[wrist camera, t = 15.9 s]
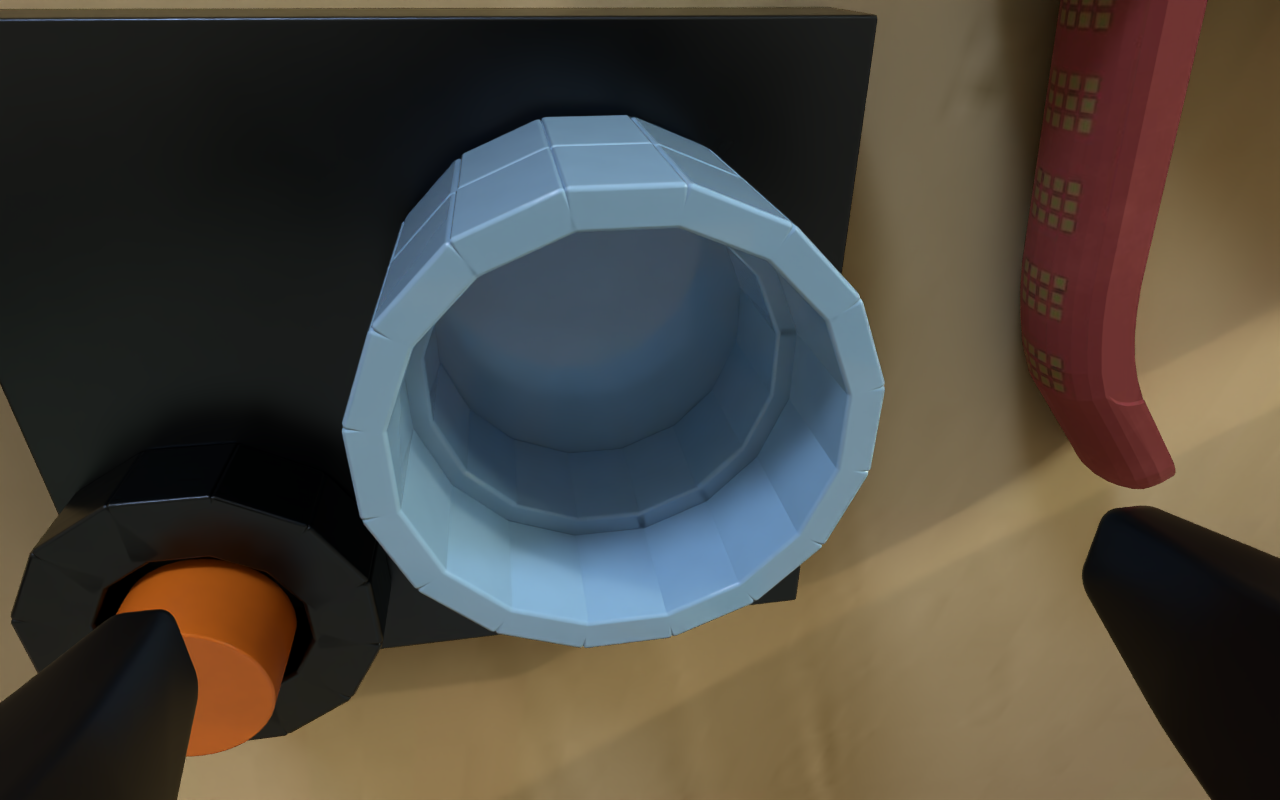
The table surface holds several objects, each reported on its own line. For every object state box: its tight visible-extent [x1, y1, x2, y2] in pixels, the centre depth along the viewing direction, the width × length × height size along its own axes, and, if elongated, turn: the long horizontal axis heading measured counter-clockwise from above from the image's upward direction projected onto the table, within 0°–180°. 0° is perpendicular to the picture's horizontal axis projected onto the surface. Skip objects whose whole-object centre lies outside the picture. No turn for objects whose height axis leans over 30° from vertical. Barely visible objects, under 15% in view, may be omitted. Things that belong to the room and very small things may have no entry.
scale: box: [0, 7, 877, 741], centre depth 14 cm, size 14×12×4 cm
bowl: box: [342, 115, 885, 648], centre depth 12 cm, size 7×7×4 cm
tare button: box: [116, 558, 297, 757], centre depth 13 cm, size 3×3×2 cm
